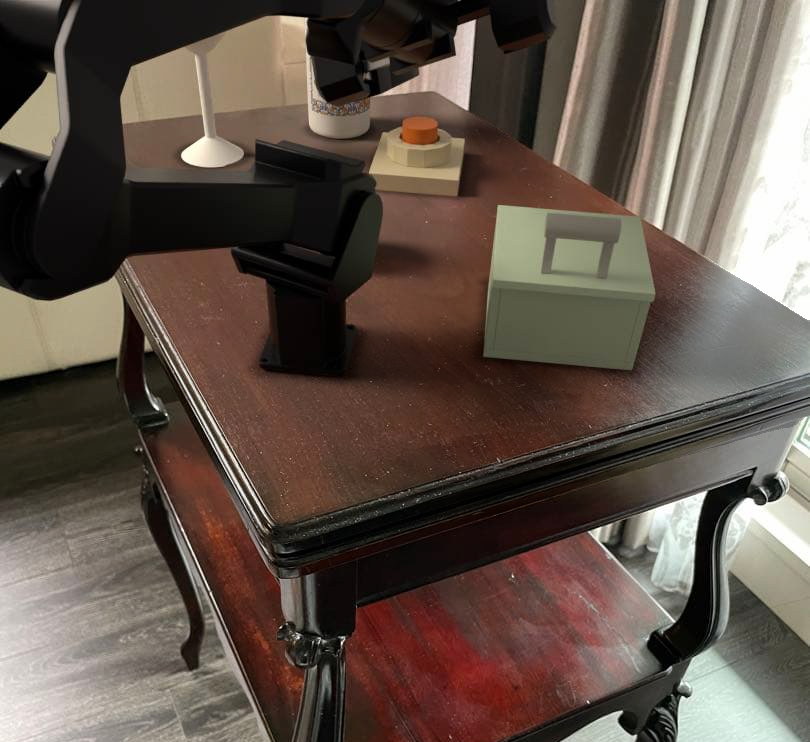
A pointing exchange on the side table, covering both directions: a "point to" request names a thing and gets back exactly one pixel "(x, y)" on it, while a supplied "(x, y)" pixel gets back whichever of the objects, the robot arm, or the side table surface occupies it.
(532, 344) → the compartment
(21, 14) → the robot arm
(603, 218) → the compartment lid
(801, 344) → the side table surface
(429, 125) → the button
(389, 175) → the control block
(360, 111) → the bath foam
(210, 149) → the champagne flute
